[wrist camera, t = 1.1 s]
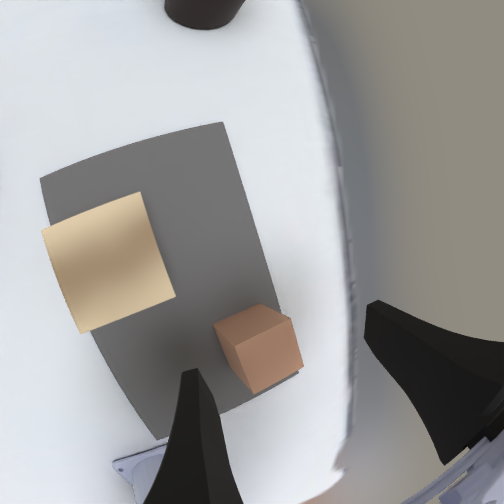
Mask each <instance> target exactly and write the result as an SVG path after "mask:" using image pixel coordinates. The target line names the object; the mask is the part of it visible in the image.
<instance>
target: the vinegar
mask: <svg viewBox="0 0 504 504" xmlns="http://www.w3.org/2000/svg"><path fill="white" fill-rule="evenodd" d="M244 1H245V0H165V9H166V11H167V13H168V15H169V16H170V17H172V18H173V19H174V20H175V21H177V22H179V23H181V24H183V25H186V26H190V27H193V28H202V29H210V28H217V27H220V26H223V25H225V24H227V23H228V22H229V21H230V20H232V19H233V18H234V16H235V15H236V13H237V12H238V10H239V9H240V7H241V6H242V4H243V3H244Z"/></svg>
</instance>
